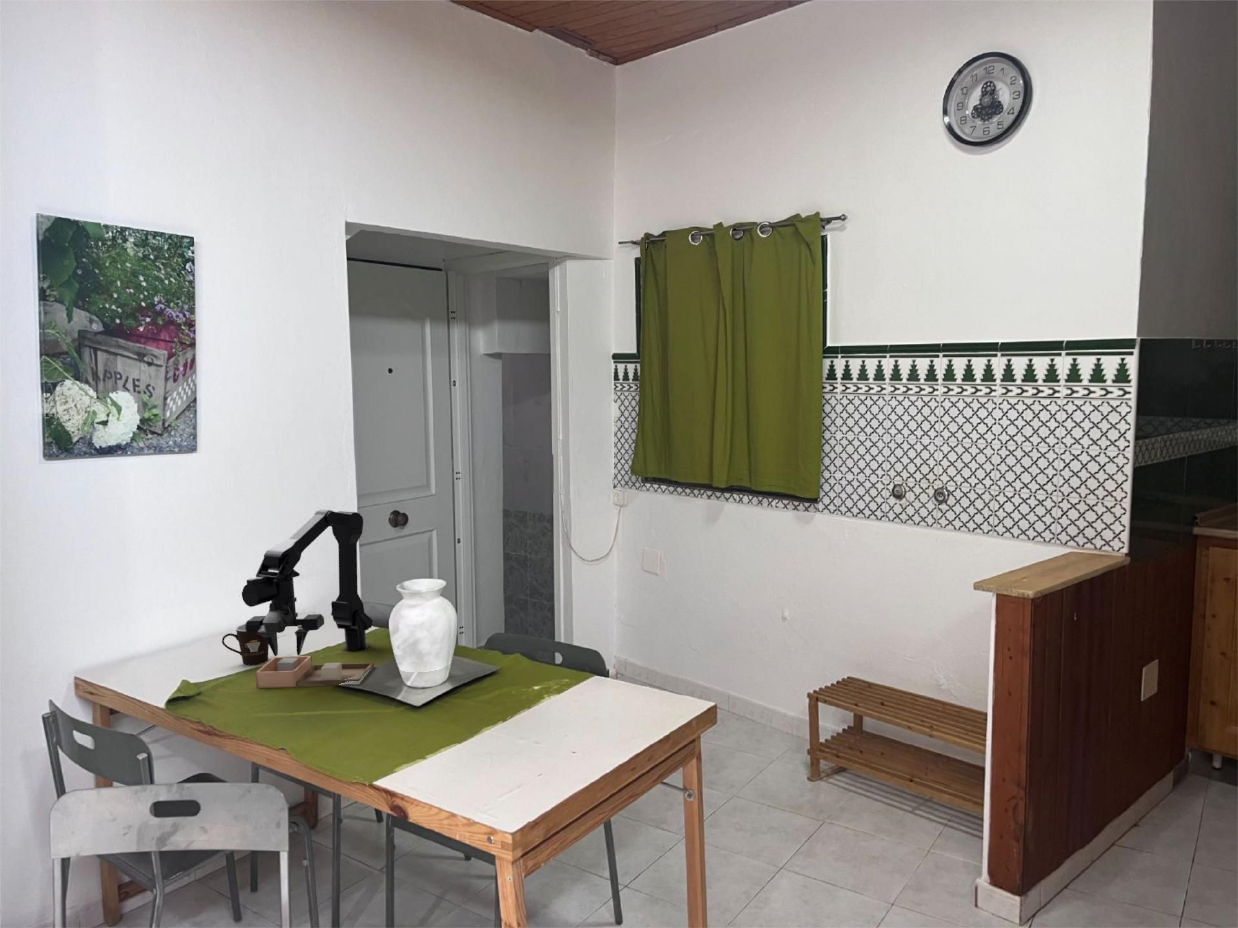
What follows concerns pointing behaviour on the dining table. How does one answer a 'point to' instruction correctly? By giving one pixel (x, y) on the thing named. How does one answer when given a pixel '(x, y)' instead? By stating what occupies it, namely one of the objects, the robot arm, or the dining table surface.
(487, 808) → the dining table surface
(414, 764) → the dining table surface
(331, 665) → the beige cube
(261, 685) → the pink storage bin
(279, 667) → the pale grey matte cube
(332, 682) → the parts tray
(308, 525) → the robot arm
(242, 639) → the coffee mug
